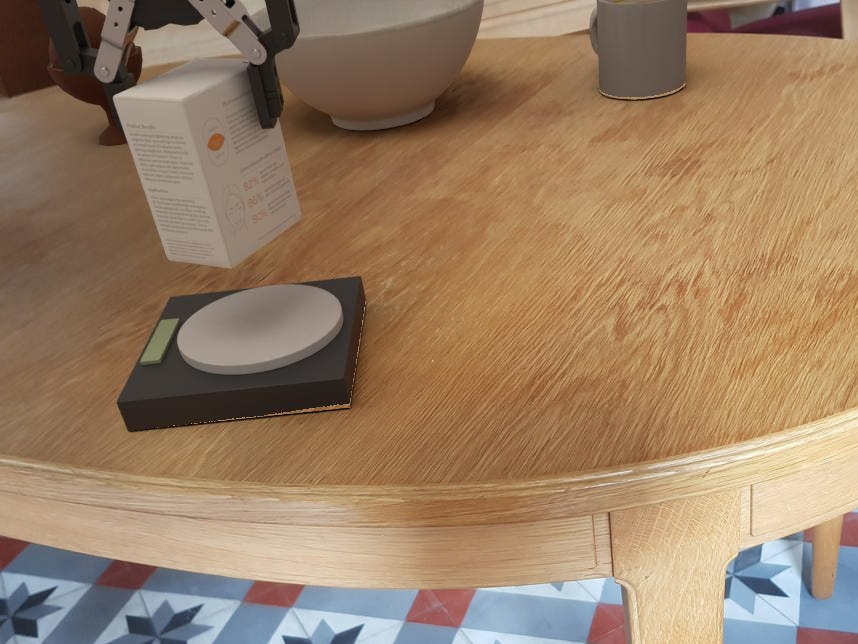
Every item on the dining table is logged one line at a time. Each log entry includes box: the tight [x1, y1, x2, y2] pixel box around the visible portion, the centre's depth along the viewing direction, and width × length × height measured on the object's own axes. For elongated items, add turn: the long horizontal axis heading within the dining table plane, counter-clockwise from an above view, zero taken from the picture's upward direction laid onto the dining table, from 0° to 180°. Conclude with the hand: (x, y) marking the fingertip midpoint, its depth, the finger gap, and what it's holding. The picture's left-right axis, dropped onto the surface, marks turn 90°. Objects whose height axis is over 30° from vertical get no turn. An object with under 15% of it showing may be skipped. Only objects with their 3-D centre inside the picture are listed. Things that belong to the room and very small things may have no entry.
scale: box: [115, 275, 367, 432], centre depth 67 cm, size 15×15×3 cm
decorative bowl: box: [250, 0, 485, 131], centre depth 110 cm, size 27×27×12 cm
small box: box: [113, 57, 303, 270], centre depth 60 cm, size 8×6×10 cm
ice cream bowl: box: [46, 5, 144, 146], centre depth 113 cm, size 11×11×15 cm
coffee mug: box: [588, 0, 688, 98], centre depth 109 cm, size 13×10×10 cm
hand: (205, 132), depth 59 cm, fingers closed on small box, 7 cm apart
